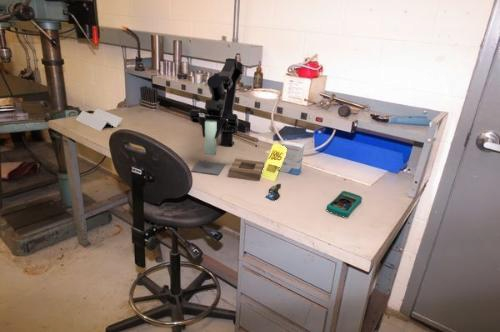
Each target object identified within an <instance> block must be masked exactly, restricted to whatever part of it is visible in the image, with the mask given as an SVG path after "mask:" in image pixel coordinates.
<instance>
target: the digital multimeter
mask: <svg viewBox="0 0 500 332" xmlns="http://www.w3.org/2000/svg"><path fill="white" fill-rule="evenodd" d="M362 201H363V197H362V196H361V195H359V194H357V193H353V192H351V191H346V190H342V191H340V193H339V194H338V195H337V196H336V197H335V198H334V199H333V200H332V201H331V202H330V203H328V204H327V205H326V210H328V211H329V212H328V211H327V212H328V213H330V212H332V213H334V214H337V215H341V216H344V217H348V218H349V216H350V215H351V214H352V213H353V211H354V210H355V209H356V208H357V206H359V205H360V204H361V203H362ZM326 210H325V211H326ZM332 213H331V214H332ZM350 213H351V214H350ZM334 214H333V215H334ZM337 215H336V216H337ZM344 217H343V218H344Z"/></svg>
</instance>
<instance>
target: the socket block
mask: <svg viewBox="0 0 500 332" xmlns="http://www.w3.org/2000/svg"><path fill="white" fill-rule="evenodd" d="M263 168H264V169H265V161H259V160H249V159H242V158H235V159H234V161H233V162H232V164H231V165H230V167H229V169H228V178H232V179H233V178H234V179H239V180H240V179H242V180H247V181H255V182H260V181H261V178H262V176H261V174H262V175H263V173H262V170H263ZM263 171H264V170H263Z"/></svg>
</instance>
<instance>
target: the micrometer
mask: <svg viewBox="0 0 500 332" xmlns="http://www.w3.org/2000/svg"><path fill="white" fill-rule="evenodd" d="M281 186H282V183H277V184H275V185H272V186H271V187H270V188H269V189H268V194H267V195H266V196H265V198H266V199H268V200H270V201H273V202H274V201H275V200H276V201H277V200H278V199H280V197H281V194H280V193H279V189H281ZM270 195H271V196H270Z"/></svg>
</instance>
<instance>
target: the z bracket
mask: <svg viewBox="0 0 500 332" xmlns="http://www.w3.org/2000/svg"><path fill="white" fill-rule="evenodd" d="M123 119H124V118H123V117H121V116H117V115H115V114H113V113H111V112H108V111H105V110H102V109H100V108H96V109H95V110H94V112H93V113H89V112H88V111H85V110H81V112H80V113H79V115H78V116H76V119H75V121H78V122H79V123H82V124H83V125H86V126H88V127H91V128H93V129H95V130H97V131H98V132H101V131H103V129H104V127H106V125H107V124H108V125H107V126H110V127H112V126H113V128H114V127H116V128H118V126H119V125H120V123H121V122H122V120H123Z"/></svg>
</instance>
